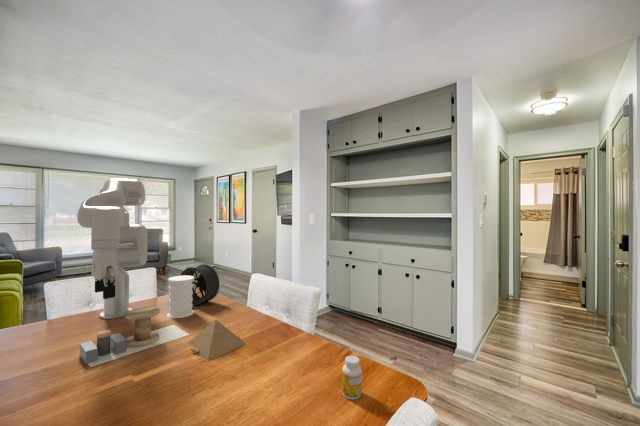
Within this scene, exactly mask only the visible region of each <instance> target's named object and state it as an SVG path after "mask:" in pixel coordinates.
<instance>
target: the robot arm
mask: <svg viewBox="0 0 640 426" xmlns="http://www.w3.org/2000/svg"><path fill="white" fill-rule="evenodd" d="M145 188H146V187H145V186H144V184H143V182H142V181H140V179H139V180H138V179H131V178H129V179H128V178H114V177H113V178H110V179H108V180H106V181H105V183H104V184H103V188H101V189H100V190H99V193H97V194H95V195H91V196H89V197H87V198H85V199H84V200H82V201H81V204H80V206H79V209H78V212H77V216H76V217H77V218H76V219H77V223H78V224H79V226H80V227H83V228H86V229H87V228H88V229H90V230H91V234H90V235H91V236H90V237H91V242H90V246H91V247H90V249H91V250H92V251H93V252H92V261H91V277H93V278H94V292H95V293H102V299H103V311H102V312H101V313H99V318H100V319H105V320H108V319H109V320H110V319H111V320H112V319H119V318H122V317H123V318H124V317H125V314H126V313H127V312H128V311H131V310H133V308H131V307H129V306H130V300H129V299H130V275H129V273H128V272H127V271H126V270H125V269H124V268H132V267H133V268H134V267H142V266H144V265H146V263H147V261H148V230H147V228H146V226H145V225H143V224H137V223H135V224H133V223H131V224H130V213H129V212H128V210H127V209H126V208H125V207H124V206H127V207H128V206H129V207H130V206H131V207H139V206H143V205H144V204H145V201H146V190H145ZM120 245H136V246H120Z"/></svg>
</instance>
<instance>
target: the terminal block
mask: <svg viewBox="0 0 640 426" xmlns="http://www.w3.org/2000/svg"><path fill="white" fill-rule="evenodd" d="M110 349H111V350H112V351H113V352H114V353H115V354H120V353H123V352H126V351H127V339H126V337H124V336H123V335H122V334H121V333H120V332H119V333H114V334H111V335H110ZM79 356H80V359H82V361H83V363H84V364H85V365H88V363H91V362H95V361H98V348H97V344H95V343H94V342H93V341H92V340H88V341H85V342H81V343H79Z"/></svg>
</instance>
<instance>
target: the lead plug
mask: <svg viewBox="0 0 640 426" xmlns="http://www.w3.org/2000/svg"><path fill="white" fill-rule="evenodd" d="M110 335H112V331H111V330H109V329H107V330H105V329H104V330H101V331H99V332H97V333H96V347H97V348H98V356H104V355H107V354H109V353H110Z"/></svg>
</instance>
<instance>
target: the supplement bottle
mask: <svg viewBox="0 0 640 426" xmlns="http://www.w3.org/2000/svg"><path fill="white" fill-rule="evenodd" d="M362 373H363V372H362V368H361V365H360V358H359V357H358V356H355V355H348V356H345V358H344V364H343V366H342V373H341V374H342V375H341V376H342V377H341V394H342V395H343V397H344V398H346V399H348V400H357V399H359V398H360V397H361V395H362V377H363V376H362Z"/></svg>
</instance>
